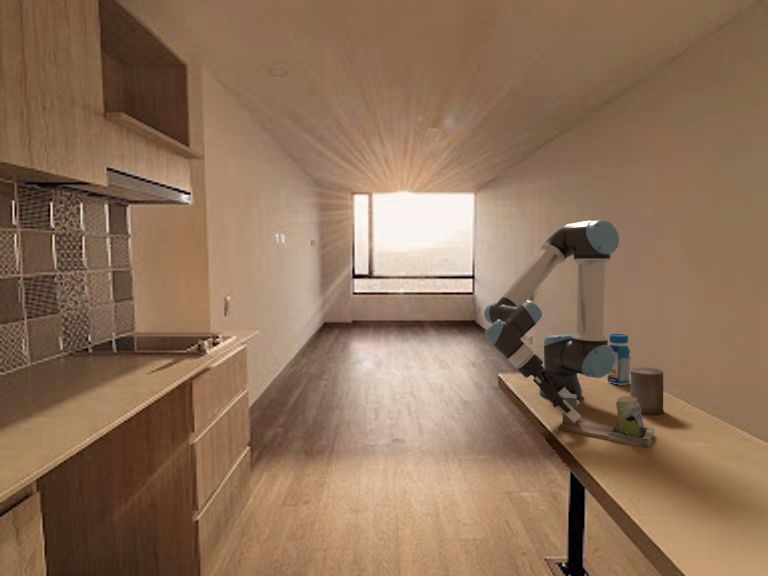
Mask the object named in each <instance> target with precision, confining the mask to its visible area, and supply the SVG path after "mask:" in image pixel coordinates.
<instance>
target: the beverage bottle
mask: <svg viewBox="0 0 768 576" xmlns="http://www.w3.org/2000/svg"><path fill="white" fill-rule="evenodd" d="M628 342H629V336H628V334H626V333H625V334H624V333H610V334H609V343H610V345H608V346H609V347H611V348H612V349H613V351H614V353H615V363H614V366H613V368H612V369H611V371H609V373H608V374H607V383H609V384H611V383H613V384H612V385H615V384H618V385H617V386H627V384H628V385H629V384H631V367H630V366H631V363H630V361H631V356H630V353H631V350H630V348H629V347H628V345H627V344H628Z"/></svg>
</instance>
